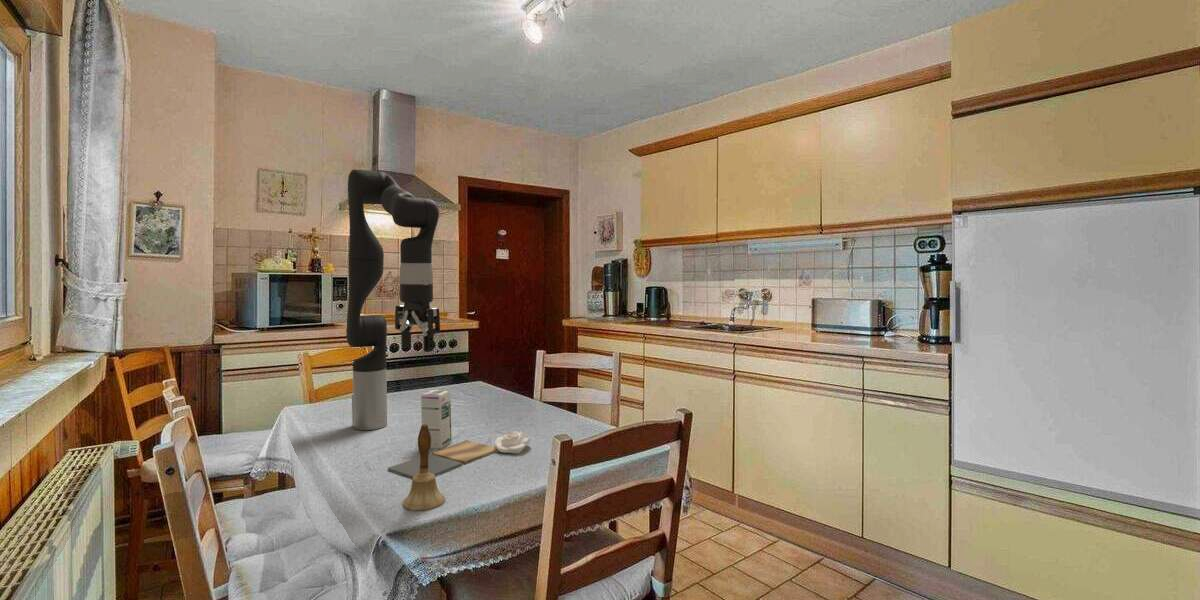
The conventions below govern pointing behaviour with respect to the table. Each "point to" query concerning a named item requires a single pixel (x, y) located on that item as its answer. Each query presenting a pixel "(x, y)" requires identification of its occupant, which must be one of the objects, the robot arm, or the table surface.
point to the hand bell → (423, 479)
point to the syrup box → (437, 416)
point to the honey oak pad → (465, 451)
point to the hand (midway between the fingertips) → (417, 349)
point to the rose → (511, 442)
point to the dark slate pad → (434, 462)
